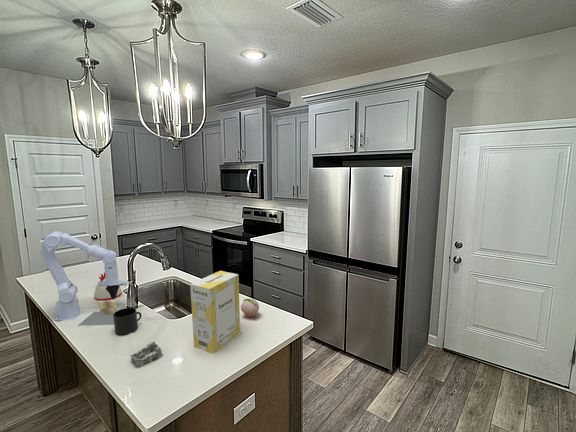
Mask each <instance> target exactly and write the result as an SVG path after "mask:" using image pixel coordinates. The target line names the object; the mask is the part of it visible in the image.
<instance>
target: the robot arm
mask: <svg viewBox="0 0 576 432" xmlns="http://www.w3.org/2000/svg"><path fill="white" fill-rule="evenodd" d="M60 245H61V247H63V246H64V247H65V246H71V247H75V248H77V249H80V250H83V251H85V252H87V255H88V256H90V257H93V258H95V259H98V260H100V261H102V263H104V272H105V277H106V281H103V282H97V283H96V285H97V286H98V287H100V286H107V287H106V290H107V291H108V292H109V294H110V296H111V298H112V299H111V300H115V299H117V298H116V296H117V291H118V289H119V286H120V287H121V286H122V287H123V286H124V287H126V286H128V283H129V282H128V280H119V272H118V265H117V263H118V261H117V253H116V252H115V251H114V250H111V249H108V248H107V249H106V248H103V247H101V245H100V244H91V245H90V244H89V243H86V242H84V241H82V240H80V239H78V238H76V237H74V236H72V235H70V234H68V233H66V232H62V231H60V230H55V231H52V232H51V233H50V234H48V235H47V236H45V238H44V239H43V240H42V245H41V249H40V256H41V257H42V260H43V261H44V264H45V266H47V268H48V270H49V273H50V274H51V277H52V278H53V281H54V282H55V284H56V287H57V292H58V300H57V301H56V302H55V305H54V312H55V313H54V314H55V320H54V321H74V320H76V319H77V318H79V317H81V315H83V314H84V311H80V304H79V297H78V296H77V293H78V287H77V286H76V285H75V284H74V283H73V281H71V280H70V279H69V277H68V276H67V274H66V272H65V270H64V268H63V266H62V264H61V262H60V260H59V258H58V256H57V254H56V250H57V248H58V247H59V246H60Z"/></svg>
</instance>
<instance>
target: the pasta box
mask: <svg viewBox="0 0 576 432" xmlns="http://www.w3.org/2000/svg"><path fill="white" fill-rule="evenodd" d="M239 276H240V275H239V274H238V273H234V272H227V271H223V270H219V271H216V272H214V273H211V274H210V275H207V276H205V277H203V278H201V279H198V280H196V281H194V282H192V283H190V284H189V286H190V300H191V301H190V302H191V318H192V319H191V320H192V321H191V322H192V335H193V336H192V337H193V347H194V348H196V349H199V350H202V351H204V352H206V353H209V354H212V355H214V354H215V353H216V352H218V351H219V350H220V349H221V348H222V347H224V346H225V345H227V343H229V342H230V341H232V340H233V339H234V338H235V337H237V336H238V335H239V334H240V333H241V313H240V312H241V311H240V310H241V306H240V282H239V281H240V278H239Z"/></svg>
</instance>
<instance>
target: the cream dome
mask: <svg viewBox="0 0 576 432" xmlns="http://www.w3.org/2000/svg"><path fill="white" fill-rule="evenodd" d="M98 278H99V282H103V281H106V277H105V271H104V272H103V274H102V273H101V274H100V276H98ZM95 285H96V286H95V289H94V294H93V296H94V300H95V301H97V302H99V301H112V300H113V299H112V298H111V296H110V294H109V292H108V291H107V290H106V287H107V286H100V287H98V286H97V284H95ZM122 293H123V290H122V289H121V286H119V289H118V291H117V296H116V298H115V299H117V298H120V297H121V296H122V295H123V294H122Z"/></svg>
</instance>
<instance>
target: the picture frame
mask: <svg viewBox="0 0 576 432" xmlns="http://www.w3.org/2000/svg"><path fill="white" fill-rule="evenodd" d="M108 325H109V326H110V325H111V326H112V325H113V326H114V318H113V314H109V315H100V311H93V312H92V313H91V314H90V315H89V316H87V317H86V318H84V319H83V321H81V322H80V323H79V324H78V325H77V327H81V326H82V327H83V326H108Z"/></svg>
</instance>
